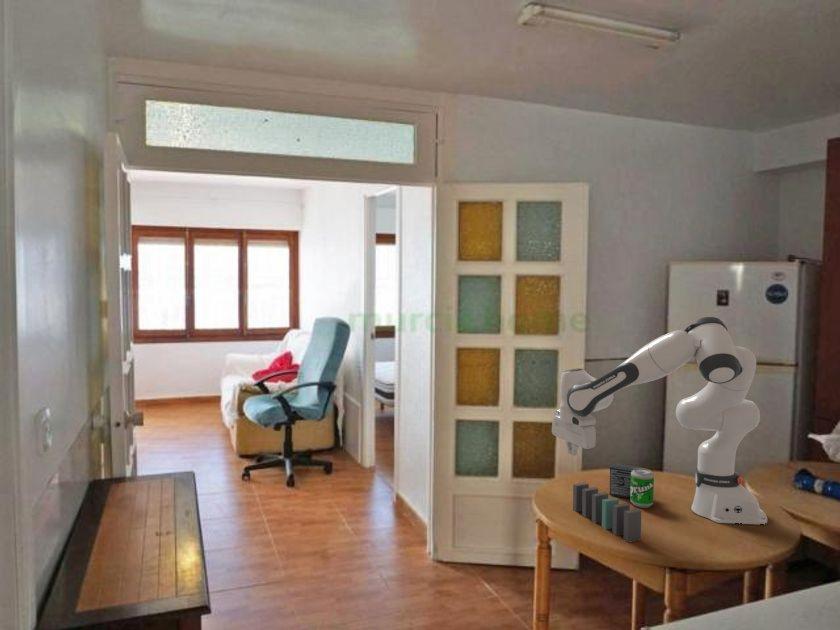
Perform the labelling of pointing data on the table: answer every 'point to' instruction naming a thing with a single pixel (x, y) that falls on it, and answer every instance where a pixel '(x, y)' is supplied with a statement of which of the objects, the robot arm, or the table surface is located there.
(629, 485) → the small box
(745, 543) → the table surface
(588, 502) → the domino
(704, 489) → the robot arm
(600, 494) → the domino
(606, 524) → the domino
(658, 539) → the table surface
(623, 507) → the domino
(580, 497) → the domino
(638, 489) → the soda can
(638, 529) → the domino
